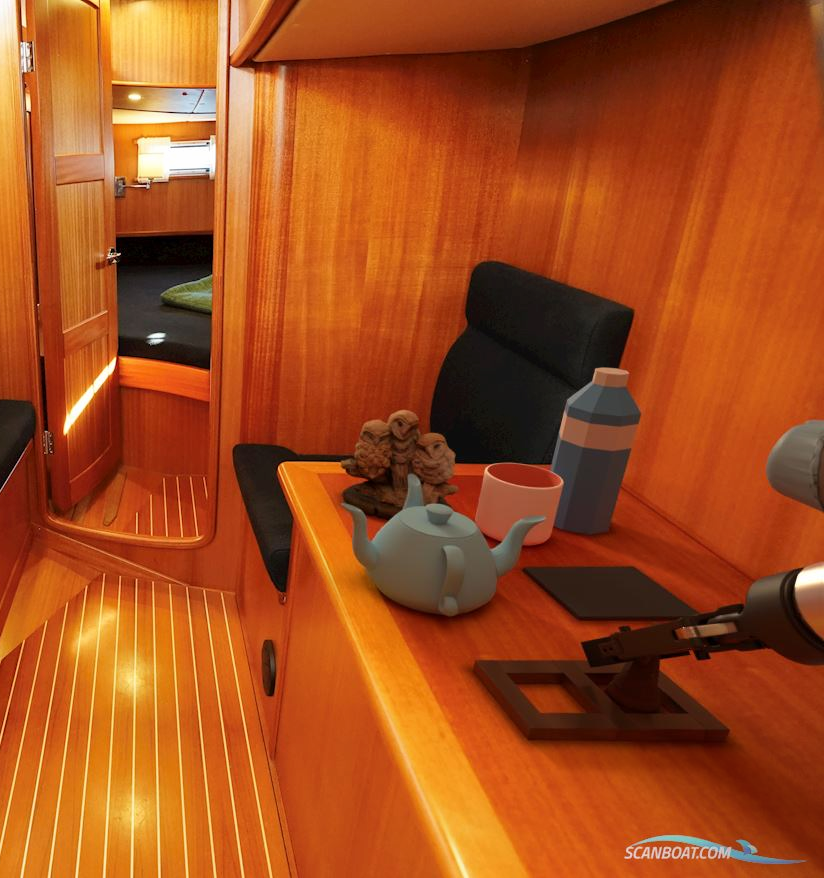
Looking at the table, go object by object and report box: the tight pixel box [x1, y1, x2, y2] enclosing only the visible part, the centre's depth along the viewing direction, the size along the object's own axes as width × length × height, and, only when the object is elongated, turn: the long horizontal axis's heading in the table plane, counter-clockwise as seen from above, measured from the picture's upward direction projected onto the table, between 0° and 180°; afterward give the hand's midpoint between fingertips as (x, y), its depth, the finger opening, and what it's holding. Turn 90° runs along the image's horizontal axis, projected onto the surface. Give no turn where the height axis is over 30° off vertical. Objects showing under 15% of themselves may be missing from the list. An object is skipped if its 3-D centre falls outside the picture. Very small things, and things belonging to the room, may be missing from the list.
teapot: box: [340, 474, 546, 617], centre depth 94 cm, size 17×19×12 cm
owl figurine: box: [340, 409, 459, 521], centre depth 117 cm, size 18×12×17 cm, turn 68°
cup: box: [474, 462, 564, 547], centre depth 108 cm, size 10×10×10 cm
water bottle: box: [549, 367, 642, 536], centre depth 108 cm, size 9×9×25 cm
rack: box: [472, 659, 731, 742], centre depth 74 cm, size 19×11×2 cm, turn 87°
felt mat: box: [522, 566, 701, 621], centre depth 93 cm, size 15×12×1 cm
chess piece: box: [603, 621, 662, 714], centre depth 73 cm, size 5×5×10 cm
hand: (609, 652), depth 77 cm, fingers closed on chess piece, 4 cm apart
